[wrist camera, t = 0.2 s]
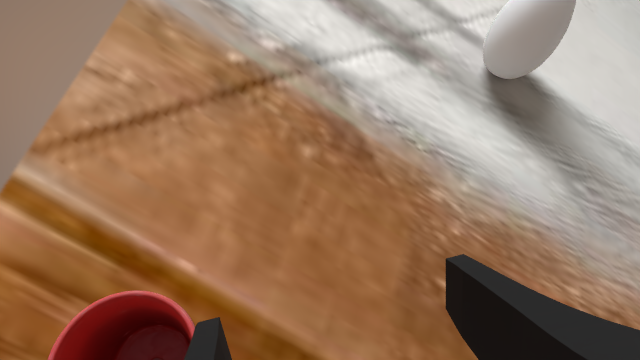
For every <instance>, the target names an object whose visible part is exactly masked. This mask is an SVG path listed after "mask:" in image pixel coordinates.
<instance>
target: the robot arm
mask: <svg viewBox="0 0 640 360" xmlns="http://www.w3.org/2000/svg"><path fill="white" fill-rule="evenodd" d="M446 310H447V311H448V313H449V315H450V317H451V319H452V321H453V322H454V324H455V326H456V328H457V329H458V331H459V333H460V334H461V336H462V338H463V339H464V340H465V342H466V343H467V345H468V346H469V347H470V349H471V350H472V351H473V353H474V354H475V355H476V357H477V358H478V359H479V360H640V330H637V329H634V328H630V327H627V326H624V325H621V324H617V323H614V322H611V321H608V320H605V319H602V318H599V317H596V316H593V315H591V314H588V313H585V312H583V311H580V310H577V309H575V308H572V307H570V306H567V305H565V304H562V303H560V302H558V301H556V300H553V299H551V298H549V297H547V296H544V295H542V294H540V293H538V292H536V291H534V290H532V289H530V288H527V287H525V286H523V285H521V284H519V283H518V282H516V281H514V280H512V279H510V278H508V277H506V276H504V275H502V274H500V273H498V272H496V271H495V270H493V269H491V268H489V267H487V266H485V265H483V264H482V263H480V262H478V261H476V260H474V259H472V258H470V257H468V256H466V255H464V254H462V255H458V256H454V257H450V258H447V259H446ZM184 360H232V358H231V355H230V352H229V348H228V345H227V341H226V338H225V335H224V331H223V328H222V324H221V321H220V318H219V317H218V318H214V319H210V320H206V321H202V322H198V324H197V325H196V327H195V330H194V333H193V336H192V339H191V342H190V345H189V347H188V350H187V353H186V355H185V358H184Z"/></svg>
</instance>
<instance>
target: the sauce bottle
mask: <svg viewBox="0 0 640 360" xmlns="http://www.w3.org/2000/svg"><path fill="white" fill-rule="evenodd" d="M575 3H576V0H509V1H508V2H507V3H506V5H505V6H504V7H503V8H502V9H501V11H500V12H499V13H498V15H497V16H496V17H495V19H494V20H493V22H492V24H491V26H490V28H489V30H488V32H487V35H486V37H485V40H484V46H483V61H484V64H485V66H486V68H487V69H488V70H489V71H490V72H491V73H492V74H494V75H496V76H498V77H500V78H504V79H514V78H518V77H521V76H524V75H526V74H528V73H530V72H532V71H533V70H535V69H536V68H538V67H539V66H540V65H541V64H542V63H543V62H544V61H545V60H546V59H547V58H548V57H549V56H550V55H551V54H552V53H553V52H554V50H555V49H556V47H557V46H558V44H559V43H560V41H561V40H562V38H563V36H564V34H565V32H566V30H567V28H568V26H569V23H570V21H571V18H572V15H573V11H574V8H575Z"/></svg>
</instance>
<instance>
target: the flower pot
mask: <svg viewBox="0 0 640 360" xmlns="http://www.w3.org/2000/svg"><path fill="white" fill-rule="evenodd" d="M194 330H195V326H194V323H193V322H192V320H191V318H190V317H189V315H188V314H187V313H186V311H185V310H184V309H183V308H182V307H181V306H180V305H178V304H177V303H176V302H174V301H173V300H171V299H169V298H167V297H165V296H163V295H160V294H157V293H153V292H149V291H126V292H120V293H116V294H113V295H109V296H107V297H105V298H102V299H100V300H98V301H96V302H94V303H92V304H91V305H89V306H88V307H86V308H85V309H84V310H82V311H81V312H80V313H79V314H78V315H77V316H75V317H74V318H73V319H72V320H71V321H70V323H69V324H68V325H67V326H66V327H65V329H64V330H63V331H62V333H61V334H60V336H59V337H58V339H57V340H56V342H55V344H54V346H53V348H52V350H51V352H50V355H49V357H48V360H184V358H185V355H186V353H187V350H188V347H189V345H190V342H191V339H192V336H193V333H194Z"/></svg>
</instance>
